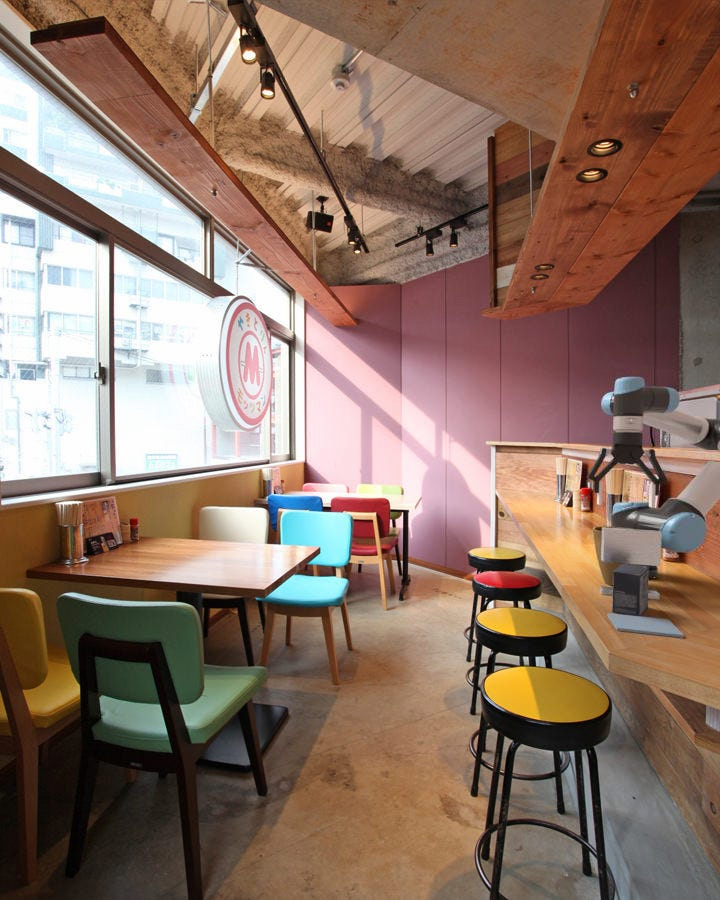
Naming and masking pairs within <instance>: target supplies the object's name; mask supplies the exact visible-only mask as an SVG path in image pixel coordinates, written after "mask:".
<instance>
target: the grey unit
mask: <svg viewBox="0 0 720 900" xmlns="http://www.w3.org/2000/svg"><path fill="white" fill-rule="evenodd" d="M661 537H662V532H660V531H655V530H639V529H623V528H607V527H602V543H601V560H602V561H603V562H614V563H625V564H629V565H635V564H640V565H652V566H657V567H661V564H662V563H661V562H662V561H661V559H662V558H661V557H662V555H661V554H662V548H661ZM599 592H600V593H601V595H608V596H613V586H609V585H607V586H606V585H600V586H599ZM649 599H650V600H659V601H660V593H659V592H658V591H657V590H650V589H648V600H649Z"/></svg>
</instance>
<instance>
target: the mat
mask: <svg viewBox="0 0 720 900" xmlns="http://www.w3.org/2000/svg"><path fill="white" fill-rule="evenodd" d="M606 616H607V617H608V619H609V621H610V622H611V624H612V625H613V626H614V628H615V629H616V631H618V632H627V633H635V634H645V635H654V636H662V637H663V636H664V637H673V638H680V639H681V638H682V639H685V635H684V634H683V632H681V630H680V629H679V628H678V627H676V625H674V623H672V621H670V619H668V618H667V619H666V618H658V617H647V616H631V615H622V614H618V613H613V612H612V613H611V612H609V613H608V612H607V613H606Z"/></svg>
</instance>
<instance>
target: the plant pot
mask: <svg viewBox="0 0 720 900" xmlns="http://www.w3.org/2000/svg"><path fill="white" fill-rule="evenodd" d="M602 527H607V528H622V527H612V526H609V525H608V526H607V525H606V526H605V525H602V526H594V527H592V530H593V531H592V532H593V533H592V534H593V541H594V548H595V553H596V558H597V561H598V562H597V563H598V566H599V570H600V573H601V576H602V580H603V581H604V584H606V585H608V584H609V585H608V586H611V585H613V571H614V570H615V569H617V568H618V567H619V566H620V565H622V564H625V563H614V562H603V561H602V560H601V543H602ZM623 529H630V528H623ZM635 565H637V566H642V565H640V564H635Z"/></svg>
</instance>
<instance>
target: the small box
mask: <svg viewBox="0 0 720 900" xmlns="http://www.w3.org/2000/svg"><path fill="white" fill-rule="evenodd" d="M648 574H649V567H645V566H637V565H629V564H622V565H620V566H619V567H618V568H617V569H615V570H614V571H613V586H612V587H613V595H612V607H611V609H612V610H611V611H612V614H621V615H631V616H641V617H643V615H644V614H645V612H646V611H647V609H648V608H649V599H648V590H649V579H648Z"/></svg>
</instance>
